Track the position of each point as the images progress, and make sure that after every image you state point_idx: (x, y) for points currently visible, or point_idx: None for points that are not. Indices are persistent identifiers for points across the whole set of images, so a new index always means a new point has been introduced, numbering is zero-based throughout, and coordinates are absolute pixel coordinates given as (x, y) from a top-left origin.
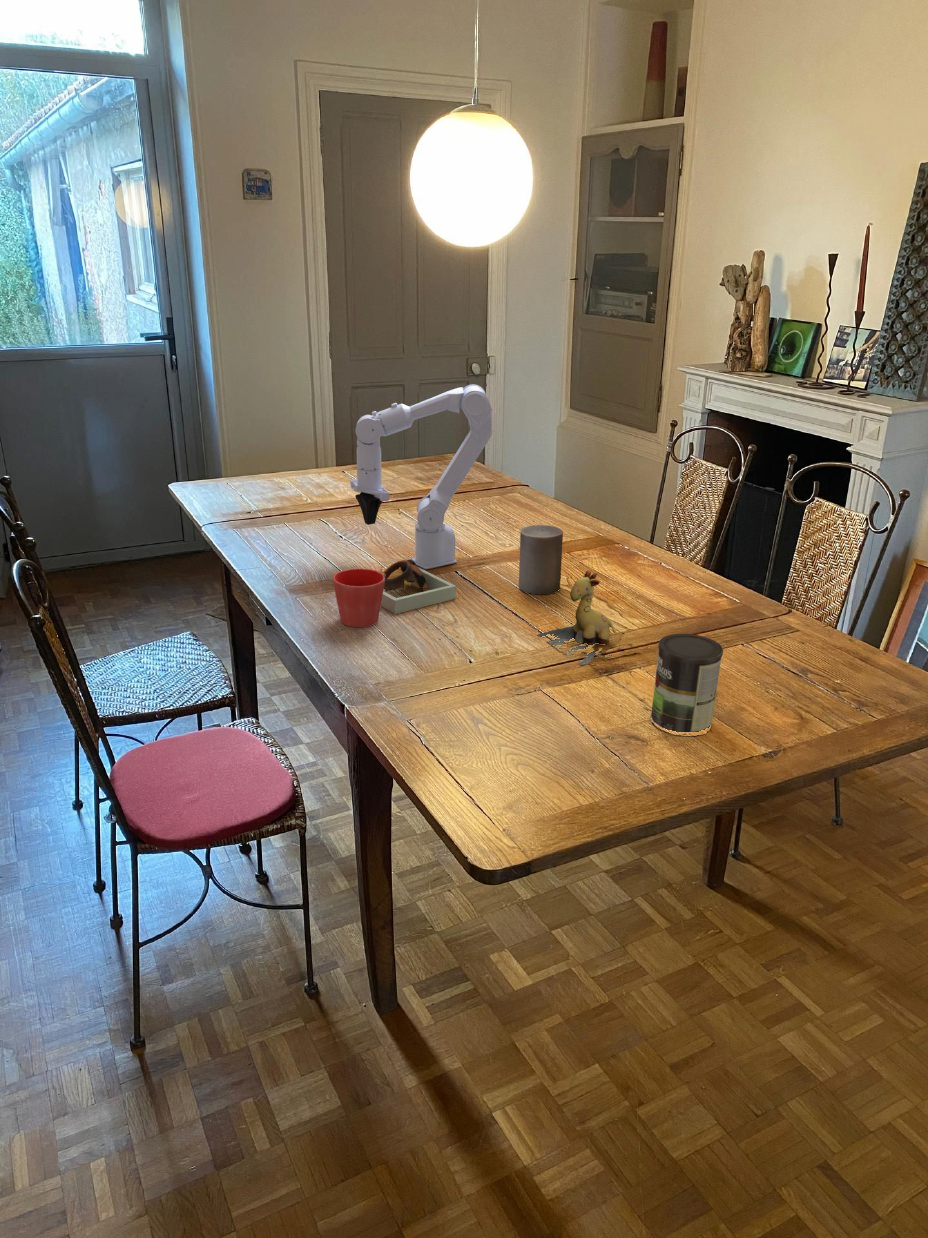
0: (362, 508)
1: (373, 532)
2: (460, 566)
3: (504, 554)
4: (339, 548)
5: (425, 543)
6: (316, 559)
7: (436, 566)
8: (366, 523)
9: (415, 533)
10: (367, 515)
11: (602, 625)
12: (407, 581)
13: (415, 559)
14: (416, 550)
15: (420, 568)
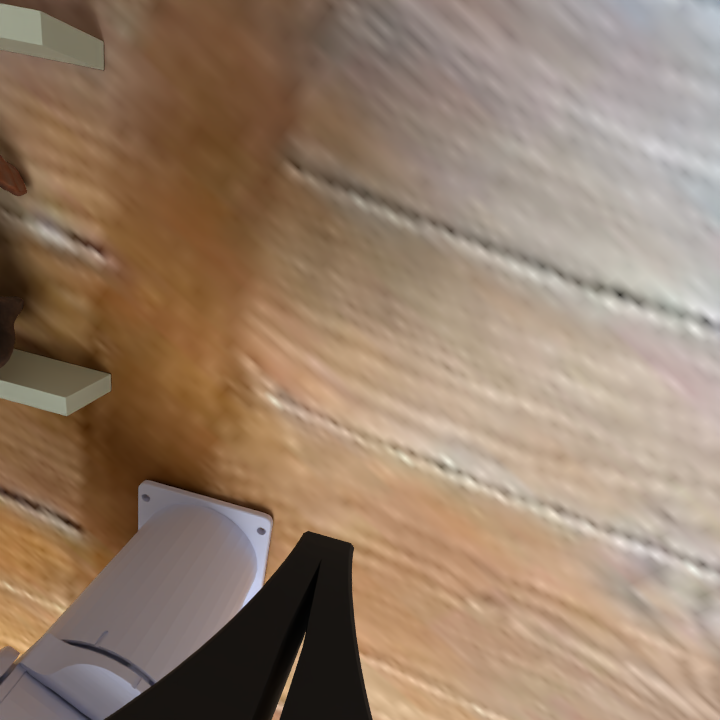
0: (313, 671)
1: (679, 705)
2: None
3: None
4: (670, 463)
5: (97, 583)
6: (659, 243)
7: (140, 521)
8: (326, 539)
9: (151, 634)
10: (256, 594)
11: None
12: (12, 297)
13: (222, 522)
14: (184, 549)
15: (5, 397)
